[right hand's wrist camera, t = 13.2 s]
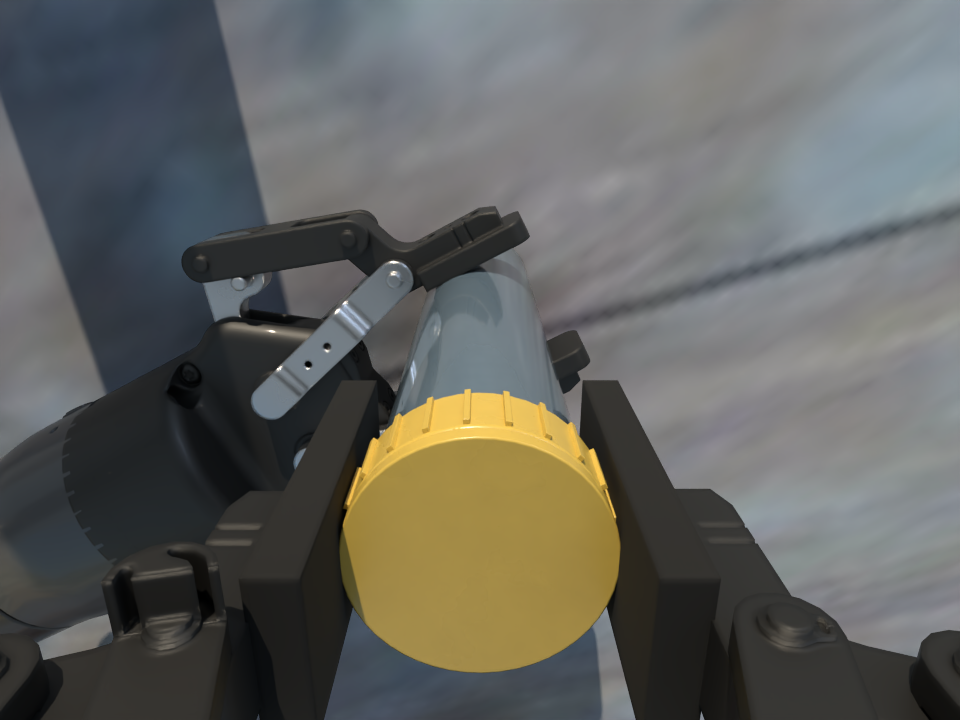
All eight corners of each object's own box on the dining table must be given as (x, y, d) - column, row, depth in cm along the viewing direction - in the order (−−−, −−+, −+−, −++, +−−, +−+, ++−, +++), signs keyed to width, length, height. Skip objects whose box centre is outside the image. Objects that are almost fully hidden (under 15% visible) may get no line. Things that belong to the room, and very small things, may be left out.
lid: (448, 335, 11) (441, 374, 9) (659, 479, 12) (687, 537, 10) (305, 527, 12) (278, 590, 11) (506, 642, 13) (509, 717, 12)
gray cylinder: (532, 239, 28) (619, 442, 10) (521, 331, 29) (582, 644, 12) (435, 230, 28) (362, 420, 10) (429, 323, 29) (354, 627, 12)
